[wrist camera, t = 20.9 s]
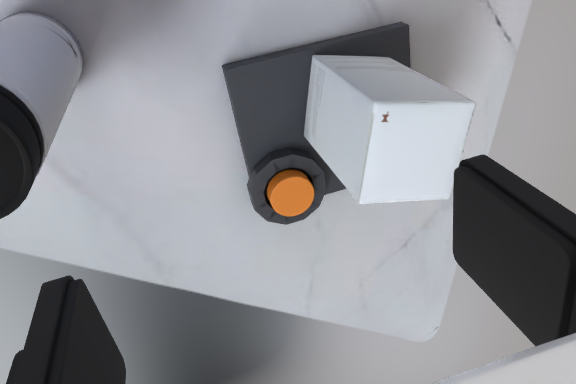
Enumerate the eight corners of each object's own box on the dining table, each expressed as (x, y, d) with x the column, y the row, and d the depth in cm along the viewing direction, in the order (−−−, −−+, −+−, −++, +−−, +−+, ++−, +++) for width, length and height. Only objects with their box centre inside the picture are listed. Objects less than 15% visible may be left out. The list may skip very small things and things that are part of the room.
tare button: (271, 213, 44) (275, 222, 43) (262, 175, 42) (266, 183, 41) (312, 201, 45) (317, 209, 43) (306, 163, 43) (311, 171, 41)
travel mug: (87, 18, 35) (36, 101, 18) (79, 104, 38) (28, 246, 21) (-10, -4, 33) (-173, 66, 16) (-12, 88, 36) (-152, 233, 19)
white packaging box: (301, 137, 43) (354, 207, 32) (311, 52, 39) (374, 98, 29) (376, 136, 45) (451, 202, 34) (392, 56, 41) (480, 100, 31)
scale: (253, 216, 47) (260, 232, 44) (216, 66, 39) (221, 76, 37) (408, 171, 49) (422, 184, 47) (401, 21, 41) (418, 27, 39)
